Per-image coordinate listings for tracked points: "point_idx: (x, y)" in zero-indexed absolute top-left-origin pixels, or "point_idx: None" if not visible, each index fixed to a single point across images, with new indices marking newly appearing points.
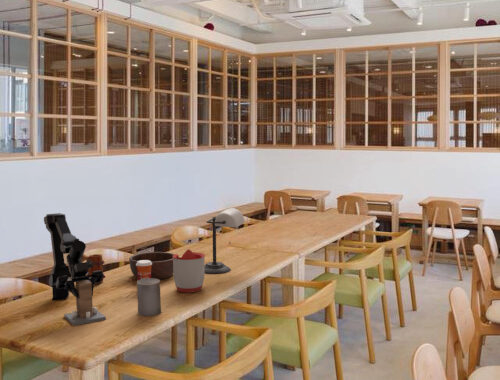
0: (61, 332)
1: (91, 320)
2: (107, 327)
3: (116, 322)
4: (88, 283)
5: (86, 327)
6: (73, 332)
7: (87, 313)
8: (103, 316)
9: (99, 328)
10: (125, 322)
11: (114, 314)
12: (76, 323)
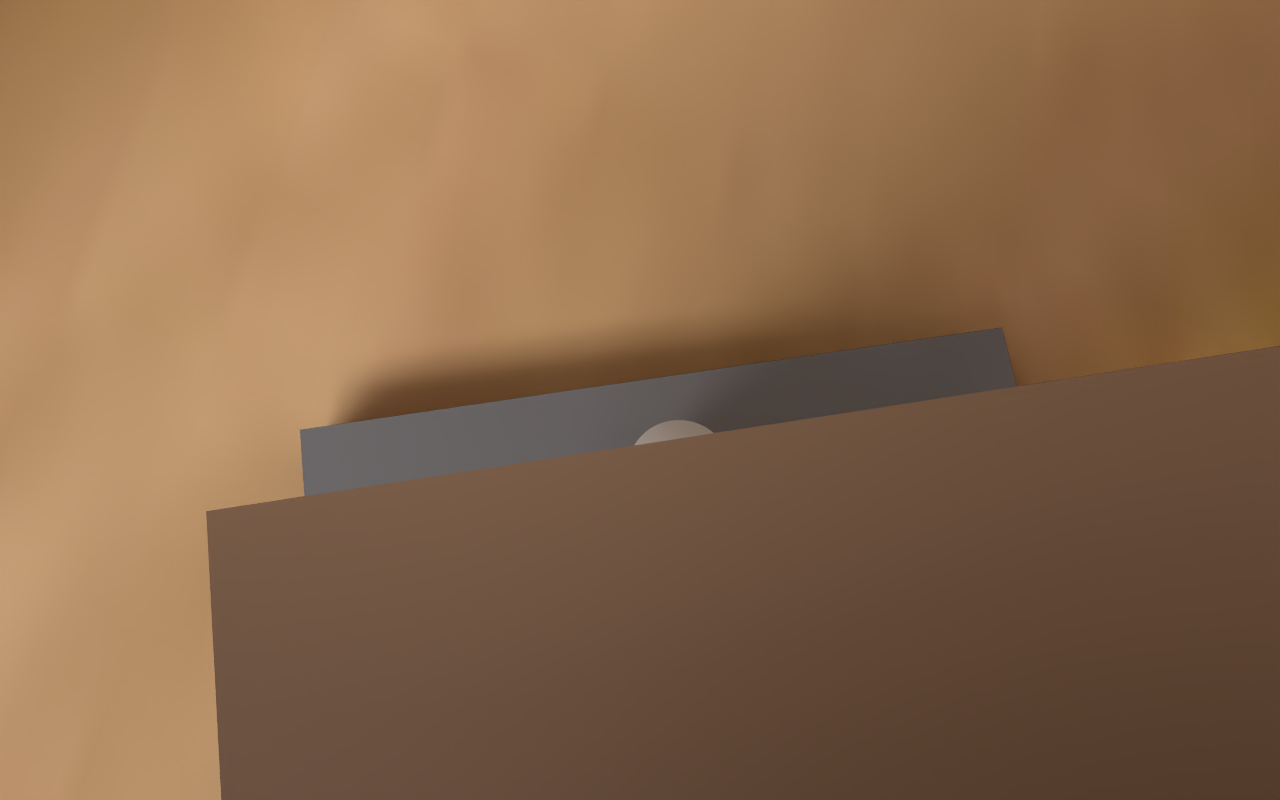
0: (1218, 103)
1: (624, 387)
2: (415, 8)
3: (186, 188)
4: (554, 459)
5: (763, 163)
6: (1012, 17)
7: (700, 426)
8: (337, 468)
9: (556, 18)
10: (40, 117)
11: (41, 715)
12: (941, 341)
